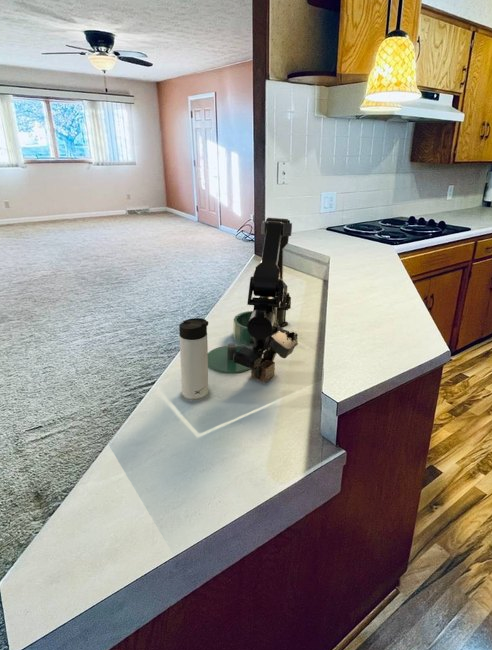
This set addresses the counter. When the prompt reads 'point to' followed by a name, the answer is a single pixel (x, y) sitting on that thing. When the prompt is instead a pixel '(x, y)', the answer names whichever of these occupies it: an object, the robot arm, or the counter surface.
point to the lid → (225, 359)
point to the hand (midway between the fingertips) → (262, 374)
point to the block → (266, 371)
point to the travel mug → (194, 358)
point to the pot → (243, 328)
